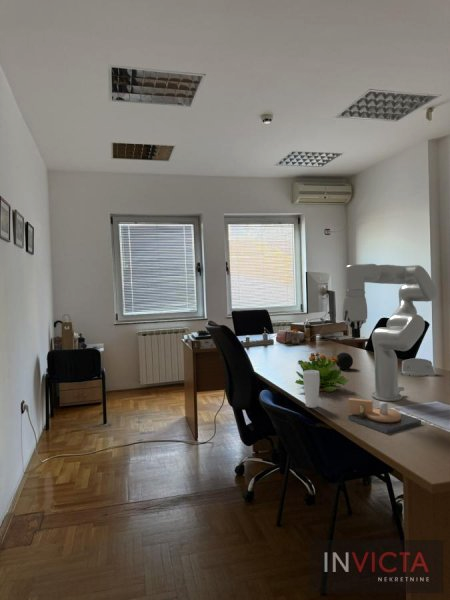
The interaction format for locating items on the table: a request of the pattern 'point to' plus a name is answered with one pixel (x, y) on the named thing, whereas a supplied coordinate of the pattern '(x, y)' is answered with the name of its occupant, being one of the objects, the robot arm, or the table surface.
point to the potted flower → (323, 372)
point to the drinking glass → (311, 387)
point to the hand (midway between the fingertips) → (356, 337)
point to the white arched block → (417, 367)
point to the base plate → (385, 426)
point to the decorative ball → (344, 360)
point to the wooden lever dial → (373, 410)
